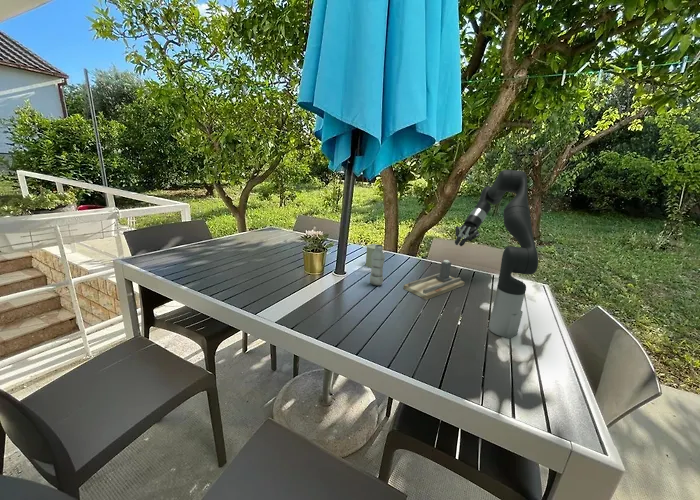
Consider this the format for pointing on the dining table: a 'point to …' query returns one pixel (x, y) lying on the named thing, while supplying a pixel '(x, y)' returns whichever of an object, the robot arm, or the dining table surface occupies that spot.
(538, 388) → the dining table surface
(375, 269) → the plastic bottle
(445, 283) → the wooden tray
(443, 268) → the fader tab
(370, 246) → the can
